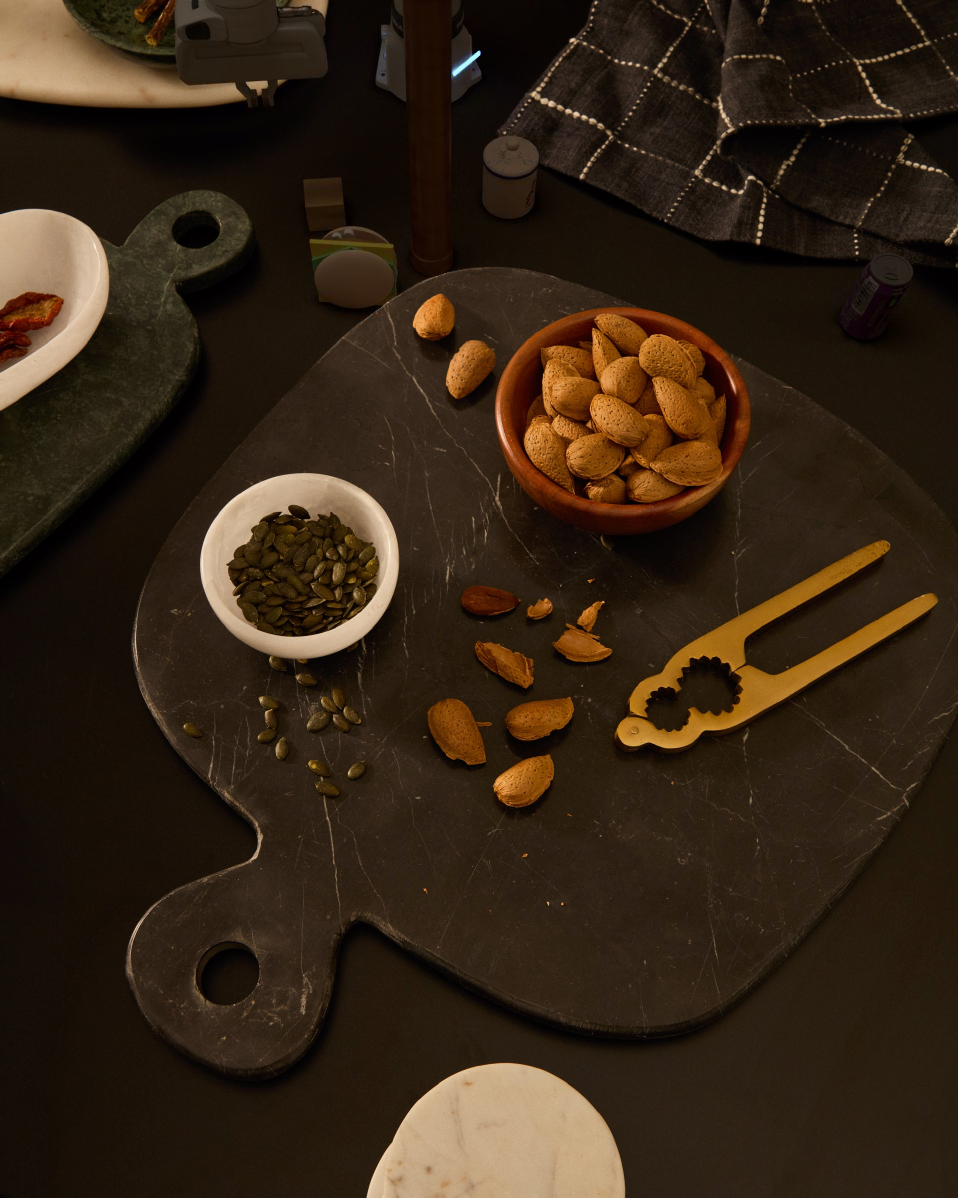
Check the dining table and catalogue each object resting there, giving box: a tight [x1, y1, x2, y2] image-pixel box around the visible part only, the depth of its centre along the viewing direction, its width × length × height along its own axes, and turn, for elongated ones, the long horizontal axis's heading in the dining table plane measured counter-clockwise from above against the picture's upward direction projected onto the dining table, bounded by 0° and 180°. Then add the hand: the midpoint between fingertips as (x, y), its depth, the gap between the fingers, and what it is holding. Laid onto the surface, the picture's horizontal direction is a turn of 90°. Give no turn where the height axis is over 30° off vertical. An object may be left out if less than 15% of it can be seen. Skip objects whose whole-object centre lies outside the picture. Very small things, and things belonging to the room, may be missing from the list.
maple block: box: [302, 176, 347, 232], centre depth 156 cm, size 6×6×5 cm
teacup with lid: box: [481, 135, 541, 220], centre depth 156 cm, size 12×9×12 cm
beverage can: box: [838, 252, 914, 341], centre depth 147 cm, size 7×7×12 cm
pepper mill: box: [402, 0, 454, 277], centre depth 132 cm, size 7×7×50 cm
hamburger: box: [309, 225, 398, 310], centre depth 146 cm, size 12×8×12 cm
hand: (261, 103), depth 139 cm, fingers closed
